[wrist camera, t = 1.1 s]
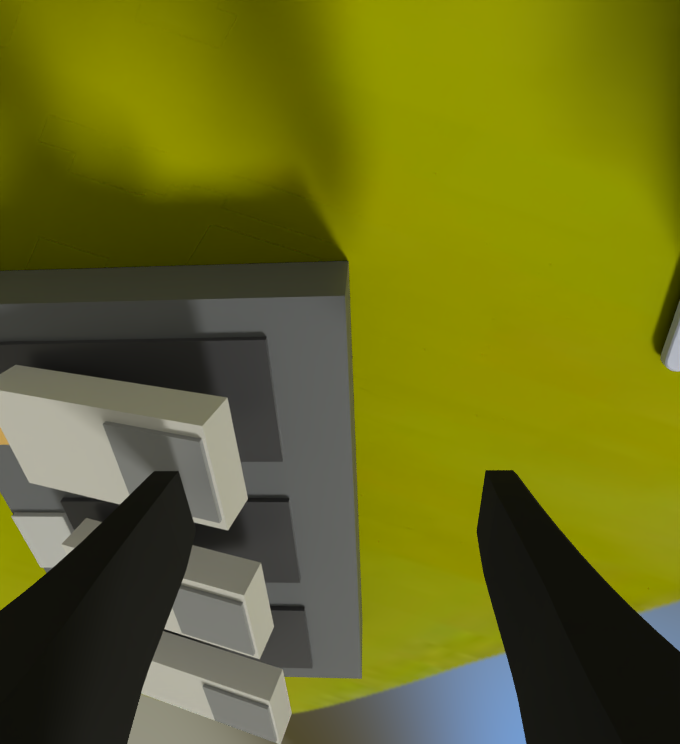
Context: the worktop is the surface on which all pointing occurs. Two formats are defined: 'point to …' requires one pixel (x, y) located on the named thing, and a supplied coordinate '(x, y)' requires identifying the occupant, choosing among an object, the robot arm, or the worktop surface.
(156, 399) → the block
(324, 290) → the switch unit
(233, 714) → the block
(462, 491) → the worktop surface
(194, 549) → the rocker middle
